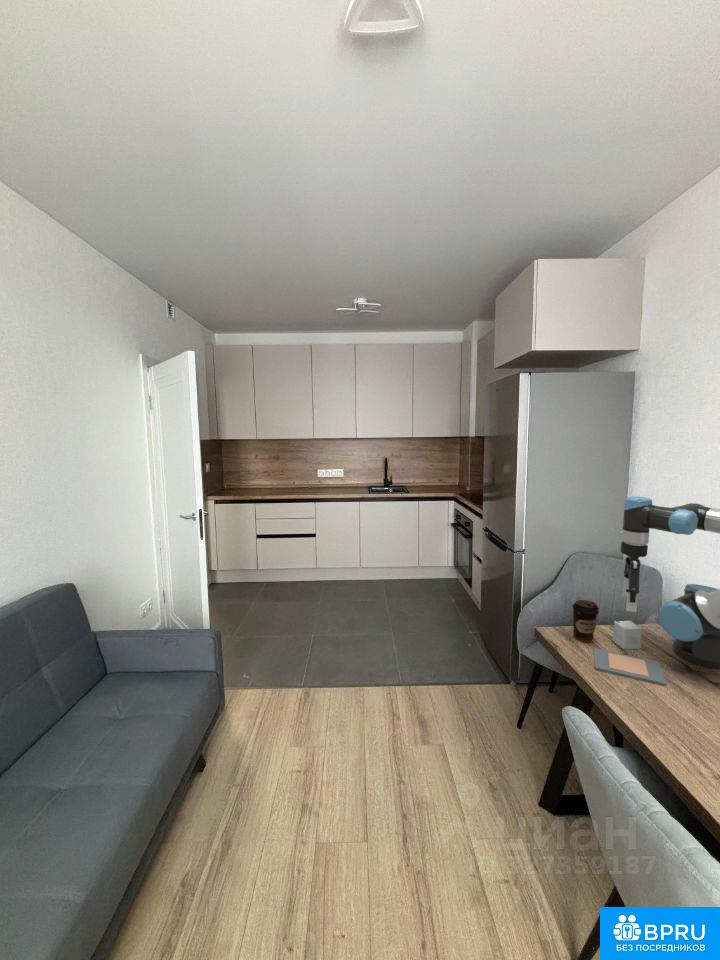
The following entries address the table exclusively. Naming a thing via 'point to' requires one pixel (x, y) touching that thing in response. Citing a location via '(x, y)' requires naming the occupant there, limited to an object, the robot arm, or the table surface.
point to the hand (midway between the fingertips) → (629, 603)
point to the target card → (629, 666)
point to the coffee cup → (584, 620)
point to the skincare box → (627, 634)
